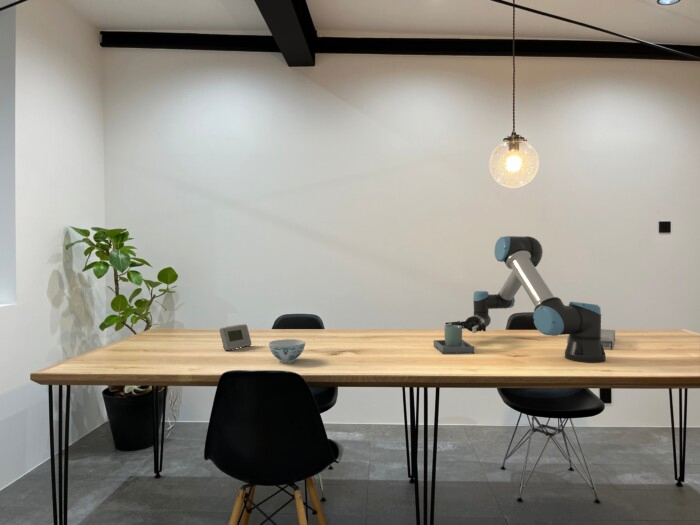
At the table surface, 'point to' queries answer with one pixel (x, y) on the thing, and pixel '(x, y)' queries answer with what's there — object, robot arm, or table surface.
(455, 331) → the cup
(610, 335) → the power supply unit
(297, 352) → the chinaware
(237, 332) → the digital clock
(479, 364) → the table surface
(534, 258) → the robot arm
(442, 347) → the tray
